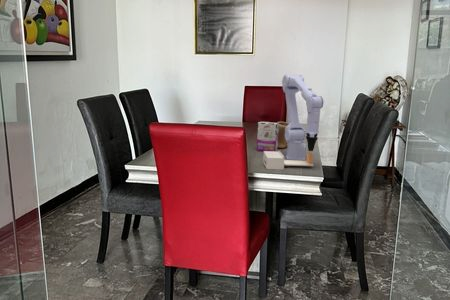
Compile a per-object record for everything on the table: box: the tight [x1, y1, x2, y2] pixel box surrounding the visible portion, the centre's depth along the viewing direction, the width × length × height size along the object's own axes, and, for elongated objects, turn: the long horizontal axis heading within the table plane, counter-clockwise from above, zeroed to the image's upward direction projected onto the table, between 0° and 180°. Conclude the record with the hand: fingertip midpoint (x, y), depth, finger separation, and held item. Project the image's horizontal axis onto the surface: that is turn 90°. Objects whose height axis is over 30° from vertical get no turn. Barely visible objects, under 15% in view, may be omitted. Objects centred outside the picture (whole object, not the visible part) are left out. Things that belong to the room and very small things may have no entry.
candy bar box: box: [256, 121, 279, 152], centre depth 225 cm, size 11×5×16 cm, turn 69°
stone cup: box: [276, 121, 289, 149], centre depth 238 cm, size 15×12×15 cm
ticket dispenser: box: [262, 150, 286, 171], centre depth 195 cm, size 8×14×6 cm, turn 2°
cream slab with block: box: [284, 152, 314, 167], centre depth 195 cm, size 14×8×5 cm, turn 92°
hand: (310, 149), depth 194 cm, fingers open, 7 cm apart
